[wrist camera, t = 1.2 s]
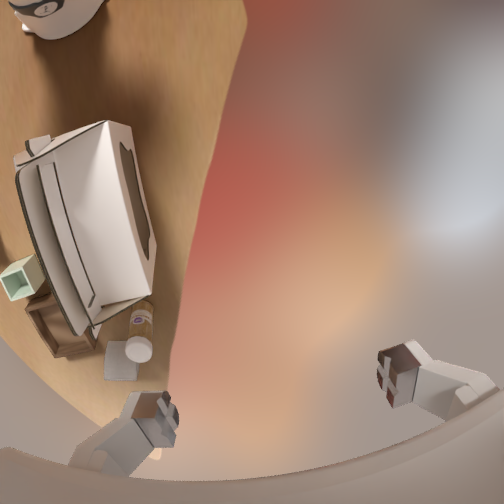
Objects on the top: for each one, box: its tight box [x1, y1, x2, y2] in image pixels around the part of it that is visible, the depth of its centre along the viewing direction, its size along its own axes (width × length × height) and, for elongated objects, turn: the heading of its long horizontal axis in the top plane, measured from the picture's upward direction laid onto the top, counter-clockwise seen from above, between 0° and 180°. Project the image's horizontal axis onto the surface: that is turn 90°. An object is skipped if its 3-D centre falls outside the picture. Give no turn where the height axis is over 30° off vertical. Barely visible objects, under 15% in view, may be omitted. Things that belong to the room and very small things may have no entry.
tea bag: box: [104, 341, 139, 381], centre depth 52 cm, size 4×7×10 cm, turn 86°
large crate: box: [25, 293, 97, 358], centre depth 48 cm, size 13×11×4 cm
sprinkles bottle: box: [125, 300, 154, 363], centre depth 48 cm, size 5×5×14 cm
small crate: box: [0, 254, 46, 301], centre depth 42 cm, size 7×6×6 cm
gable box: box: [13, 120, 157, 340], centre depth 32 cm, size 22×13×28 cm, turn 8°
